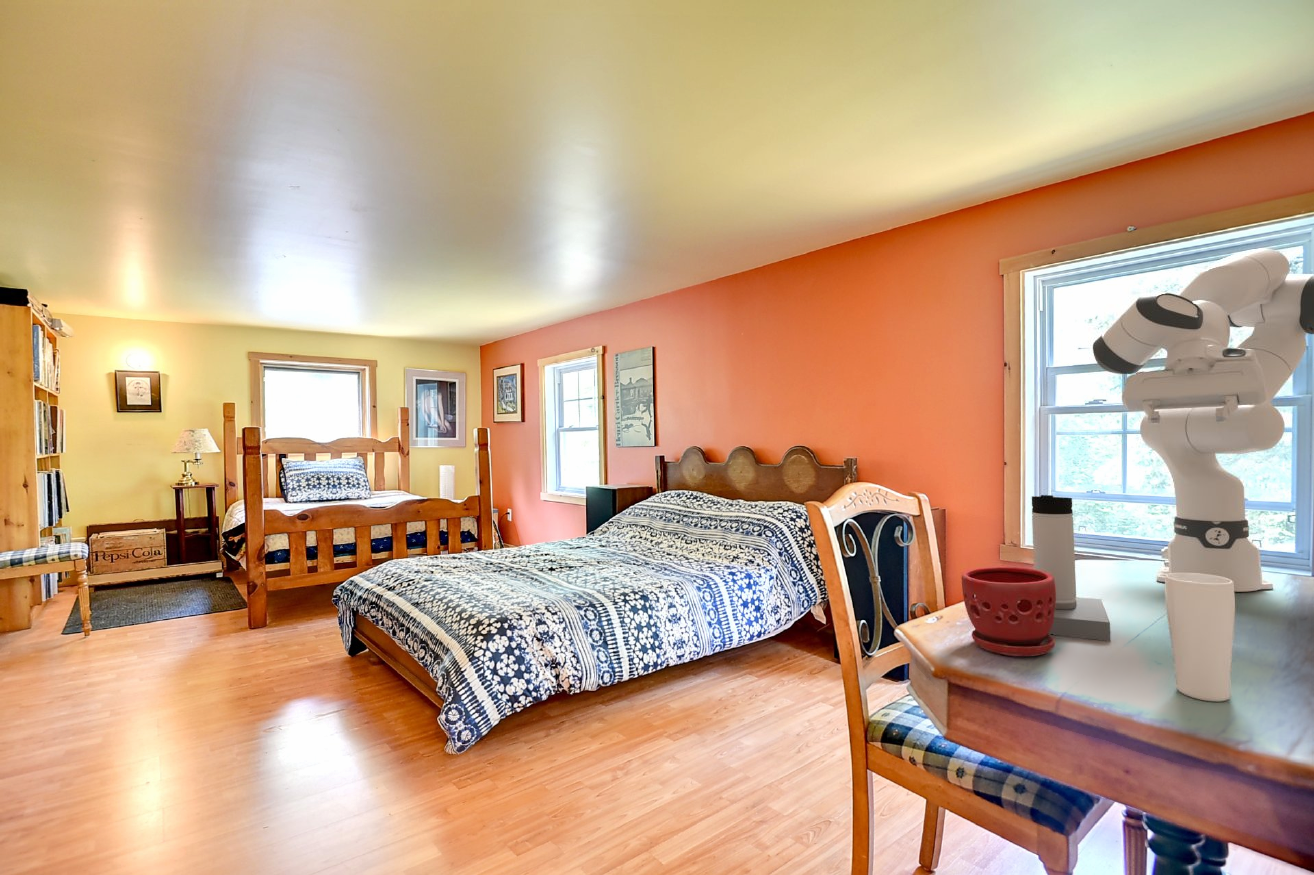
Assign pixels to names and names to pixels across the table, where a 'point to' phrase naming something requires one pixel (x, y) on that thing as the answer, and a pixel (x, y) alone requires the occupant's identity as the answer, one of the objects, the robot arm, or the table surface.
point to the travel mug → (1055, 545)
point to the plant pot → (1010, 609)
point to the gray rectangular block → (1082, 620)
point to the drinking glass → (1201, 633)
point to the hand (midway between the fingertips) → (1186, 420)
